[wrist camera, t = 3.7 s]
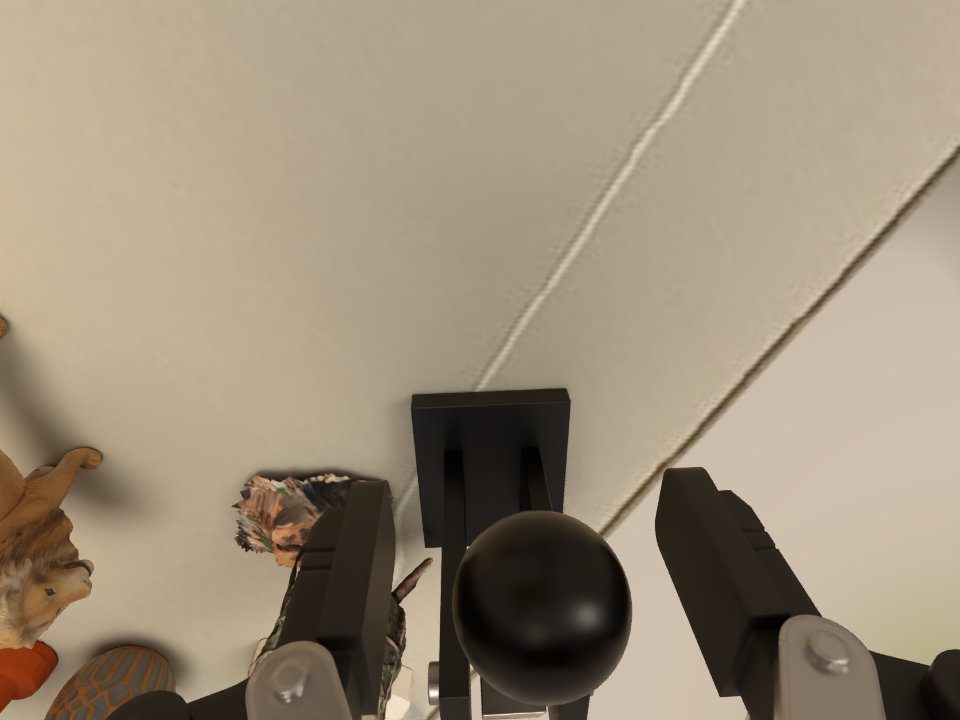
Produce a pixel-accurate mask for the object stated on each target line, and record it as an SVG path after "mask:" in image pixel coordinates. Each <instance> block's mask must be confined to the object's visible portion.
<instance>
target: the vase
mask: <svg viewBox="0 0 960 720" xmlns="http://www.w3.org/2000/svg"><path fill="white" fill-rule="evenodd" d="M157 690H166V691H171V692H174V693H176V683H175V679H174V675H173V672H172V670H171V668H170V666H169V664H168V662H167V661H166V659H165V658H164V657H163V656H162V655H160V654H159V653H157V652H155V651H153V650H151V649H148V648H144V647H139V646H124V647H119V648H116V649H113V650H110V651H108V652H105V653H103V654H101V655H99V656H97V657H95V658H94V659H92V660H90V661H89V662H88V663H87V664H85V665H84V666H83V667H82V668H80V669H79V670H78V671H77V672H76V673H75V674H74V675H73V676H72V677H71V679H70V680H69V681H68V682H67V683H66V684H65V686H64V687H63V688H62V690H61V691H60V692H59V694H58V695H57V697H56V699H55V700H54V702H53V703H52V705H51V707H50V709H49V711H48V713H47V715H46V717H45V719H44V720H105V719H106V718H107V717H108V716H109V715H110V714H111V713H112V712H113V711H114V710H116V709H117V708H118V707H120V706H121V705H122V704H124V703H125V702H127V701H129V700H130V699H132V698H134V697H136V696H139V695H141V694H144V693H147V692H151V691H157Z"/></svg>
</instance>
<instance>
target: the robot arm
mask: <svg viewBox="0 0 960 720" xmlns="http://www.w3.org/2000/svg"><path fill="white" fill-rule="evenodd" d="M655 532H656V539H657V543H658V547H659V549H660V552H661V554H662V557H663V559H664V562H665V564H666V567H667V569H668V571H669V574H670V576H671V579H672V581H673V584H674V586H675V589H676V591H677V593H678V596H679V598H680V601H681V603H682V606H683V608H684V611H685V613H686V616H687V618H688V620H689V623H690V625H691V628H692V630H693V633H694V635H695V638H696V640H697V642H698V645H699V647H700V650H701V652H702V654H703V657H704V659H705V662H706V664H707V667H708V669H709V672H710V674H711V676H712V679H713V681H714V684H715V686H716V689H717V691H718V694H719V696H720V697H732V696H741V698H742V700H743V702H744V705H745V707H746V709H747V711H748V713H747V716H746V719H745V720H960V650H958V649H954V650H947V651H944V652H941V653H940V654H939V655H937V657H936V658H935V660H934V661H933V663H932V664H931V666H928V665H924V664H920V663H916V662H912V661H908V660H904V659H899V658H895V657H891V656H887V655H883V654H879V653H875V652H872V651H870V650H868V649H867V648H866V647H865V645H864V644H863V643H862V642H861V641H860V640H859V639H858V638H857V637H856V636H855V635H854V634H852V633H851V632H850V631H849V630H847V629H846V628H844V627H843V626H841V625H839V624H837V623H835V622H833V621H831V620H828V619H826V618H823V617H822V616H821V614H820V613H819V611H818V610H817V608H816V607H815V605H814V604H813V602H812V601H811V599H810V597H809V596H808V594H807V593H806V591H805V590H804V588H803V587H802V585H801V583H800V582H799V581H798V579H797V577H796V576H795V574H794V573H793V571H792V570H791V568H790V566H789V565H788V563H787V562H786V560H785V559H784V557H783V556H782V554H781V553H780V551H779V549H776V548H775V543H774V542H773V540H772V539H771V537H770V536H769V534H768V533H767V532H765V531H764V526H763V525H762V523H761V522H760V520H759V518H758V517H757V515H756V514H755V512H754V511H753V509H752V508H751V507H750V506H749V505H747V503H745V502H744V501H743V500H742V499H740V498H739V497H738V496H737V495H736V494H734V493H733V492H732V491H731V490H724V491H718V489H717V487H716V486H715V484H714V483H713V481H712V479H711V478H710V476H709V474H708V473H707V471H706V470H705V469H704V468H702V467H690V468H668V469H666V470H665V472H664V475H663V480H662V486H661V491H660V496H659V502H658V507H657V512H656V518H655ZM394 564H395V528H394V521H393V514H392V506H391V499H390V492H389V485H388V482H387V480H383V481H361V482H352V484H351V486H350V490H349V494H348V499H347V503H346V507H335V508H326V510H325V511H324V512H323V513H322V515H321V516H320V517H319V518H318V520H317V521H316V522H315V523H314V525H313V526H312V527H311V531H310V534H309V537H308V541H307V544H306V548H305V553H304V554H303V558H302V561H301V565H300V571H298V575H297V578H296V582H295V585H294V588H293V592H292V595H291V599H290V602H289V605H288V609H287V612H286V615H285V619H284V622H283V626H282V629H281V632H280V636H279V639H278V642H277V644H276V647H275V648H274V650H273V652H271V653H270V654H269V655H267V656H266V657H265V658H264V659H263V660H262V661H261V662H260V663H259V664H258V666H257V667H256V668H255V670H254V671H253V673H252V675H251V676H250V677H248V678H247V679H245V680H244V681H242V682H240V683H238V684H237V685H234V686H232V687H230V688H227V689H225V690H222V691H219V692H217V693H214V694H211V695H209V696H206V697H203V698H200V699H198V700H195V701H192V702H190V703H187V704H186V702H185V701H184V699H183V698H182V697H181V696H179V695H178V694H176V693H174V692H171V691H166V690H157V691H151V692H147V693H144V694H141V695H139V696H136V697H134V698H132V699H130V700H129V701H127V702H125V703H124V704H122V705H121V706H120V707H118V708H117V709H116V710H114V711H113V712H112V713H111V714H110V715H109V716H108V717H107V718H106V719H105V720H361V719H362V716H365V715H377V714H378V705H379V696H380V687H381V679H382V670H383V661H384V652H385V643H386V634H387V626H388V617H389V608H390V599H391V590H392V581H393V573H394Z"/></svg>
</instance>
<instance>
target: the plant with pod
mask: <svg viewBox="0 0 960 720" xmlns="http://www.w3.org/2000/svg"><path fill="white" fill-rule="evenodd" d="M362 481H364V480H362ZM352 482H361V480H354V479H353V478H352V479H349V478H348V477H347V476H344V477H337V476H335V475H334V474H330V475H327V474H325V476H318V477H311V478H307V479H306V480H305V481H304V482H301V481H299V480H296V479H294V478H291V477H288V478H287V479H285V480H283V481H282V482H277V481H275V480H272V481H271V482H270V481H269V480H268V479H267V478H261V477H259V476H257V475H256V476H255V477H254V478H253V479H252V480H251V481H249V482H248V483H246V484H245V485H244V486H246V487H249V488H251V489H249V490H245V491H241V492H240V493H241V495H242V497H243V499H244V500H242V501H240V502H239V503H237V504H235V505H233V506H231V507H235V508H239V509H243V510H246V511H238V512H239V513H241V514H242V515H244V516H245V517H244V516H241V515H240V517H241V520H242V522H240V521H237V520H236V521H237V523H238V524H239V527H238V528H239V529H240V530H241V531H238V532H239V533H236V534H238V535H239V536H237V537H235V538H234V539H235V540H236V541H237V544H238V546H242V548H245V551H246V552H247V551H248V550H249V549H250V550H251V551H255V550H256V554H257V552H258V551H260V553H262V552H265V551H267V552H270V553H274V554H275V557H276V558H277V561H276V562H277V563H278V565H279V566H283V565H285V566H286V567H293V569H292V573H291V576H290V580H289V586H288V590H287V592H286V594H285V597H284V600H283V603H282V607H281V612H280V616H279V618H278V620H277V621H276V624H275V627H274V629H273V631H272V633H271V635H270V636H269V637H268V639H267V640H266V642H265V645H264V646H263V648H262V650H261V653H260V654H259V655H258V656H257V658H256V660H255V661H254V662H253V663H252V664H251V667H250V668H249V672H248V677H250V676H251V675H252V673H253V671H254V670H255V668H256V667H257V666H258V664H259V663H260V662H261V661H262V660H263V659H264V658H265V657H266V656H267V655H269V654H270V653H271V652H273V650H274V648H275V647H276V644H277V642H278V639H279V636H280V632H281V629H282V626H283V622H284V619H285V615H286V612H287V609H288V605H289V602H290V599H291V595H292V592H293V588H294V585H295V582H296V581H295V577H296V572H297V567H300V565H301V561H302V558H303V554H304V553H305V548H306V544H307V541H308V537H309V534H310V531H311V527H312V526H313V525H314V523H315V522H316V521H317V520H318V518H319V517H320V516H321V515H322V513H323V512H324V511H325V510H326V508H335V507H346V503H347V499H348V494H349V490H350V486H351V484H352ZM392 498H394V497H392V496H390V499H392ZM392 503H395V502H392V501H391V504H392ZM242 533H243V534H242ZM242 548H241V549H242ZM432 561H433V559H432V558H427V559H426V560H424V561H423V562H422V563H421V564H420V565H419V566H418V567H417V568H415V570H414V571H413V572H412V573H411V574H409V575H408V576H407V577H406V578H405V579H404V580H403V582H402V583H400V584H399V585H398V587H397V588H396V589H395V590H394V591H393V592H392V593H391V599H390V608H389V617H388V626H387V634H386V643H385V652H384V661H383V670H382V679H381V687H380V696H379V705H378V714H377V715H365V716H362V719H361V720H385V714H386V705H387V702H388V701H389V700H390V699H391V688H392V684H393V683H394V681H395V680H396V679H397V677H398V674H399V672H400V671H401V668H402V663H401V657H402V653H403V651H404V650H405V647H406V645H405V643H406V638H405V634H406V632H405V631H406V627H405V622H406V621H405V612H404V610H403V608H402V607H401V606H399V604H400V602H401V601H402V600H403V598H405V597H406V596H407V595H408V594H409V593H410V592H411V591H412V590H413V589H414V588H415V587H416V583H417V581H418V579H419V578H420V577H421V576H422V574H423V573H425V572H426V571H427V570H428V569H429V567H430V566H431V563H432Z"/></svg>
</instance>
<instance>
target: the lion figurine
mask: <svg viewBox="0 0 960 720" xmlns="http://www.w3.org/2000/svg"><path fill="white" fill-rule="evenodd" d="M7 329H8V327H7V324H6V323H5V321H4V320H3V319H1V318H0V340H1V339H2V337H3V336H4V335H6V333H7ZM100 463H101V454H100V453H99V452H97V451H95V450H92V449H89V448H79V449H76V450H73V451H69V452H68V453H66V454H65V456H64V457H63V459H62V460H61V461H60V463H59V464H58V466H57V467H56V468H55V467H51V466H42V467H40V468H38V469H36V470H34V471H33V472H32V473H31V474H29V475H28V476H27V477H26V478H25V479H24V478H23V476H22V475H21V473H20V472H19V470H18V469H17V467H16V466H15V465H14V463H13V462H12V461H11V459H10V458H9V457H8V456H7V455H5V454H4V453H3V452H2V451H1V450H0V649H3V648H10V647H11V648H13V649H18V648H22V647H23V646H24V647H26V648H29V649H32V648H33V647H34V644H35V641H36V640H37V639H38V638H39V637H40V635H41V634H42V633H43V632H44V631H46V630H47V629H48V627H49V626H50V625H51V624H52V623H53V622H54V620H55V619H56V618H57V616H58V615H59V614H60V613H61V612H62V611H63V610H64V609H65V608H66V607H67V606H68V605H69V604H70V603H72V602H74V601H77V600H80V599H83V598H86V597H87V596H89V595H90V593H91V589H92V583H91V581H90V580H89V577H90V576H91V574H92V572H93V570H94V565H93V563H92V562H91V561H89V560H79V557H78V555H79V554H78V549H76V548H75V546H74V545H73V544H72V543H71V541H70V539H69V536H70V533H71V532H72V529H73V525H72V523H71V521H70V519H69V518H68V517H67V516H66V515H65V513H64V511H63V510H61V509H60V508H59V506H60V504H61V502H62V501H63V499H64V498H65V496H66V494H67V493H68V491H69V489H70V487H71V485H72V483H73V481H74V477H75V475H76V472H77V470H78V468H79V467H81V468H83V469H96V467H97V466H98V465H99V464H100Z"/></svg>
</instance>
